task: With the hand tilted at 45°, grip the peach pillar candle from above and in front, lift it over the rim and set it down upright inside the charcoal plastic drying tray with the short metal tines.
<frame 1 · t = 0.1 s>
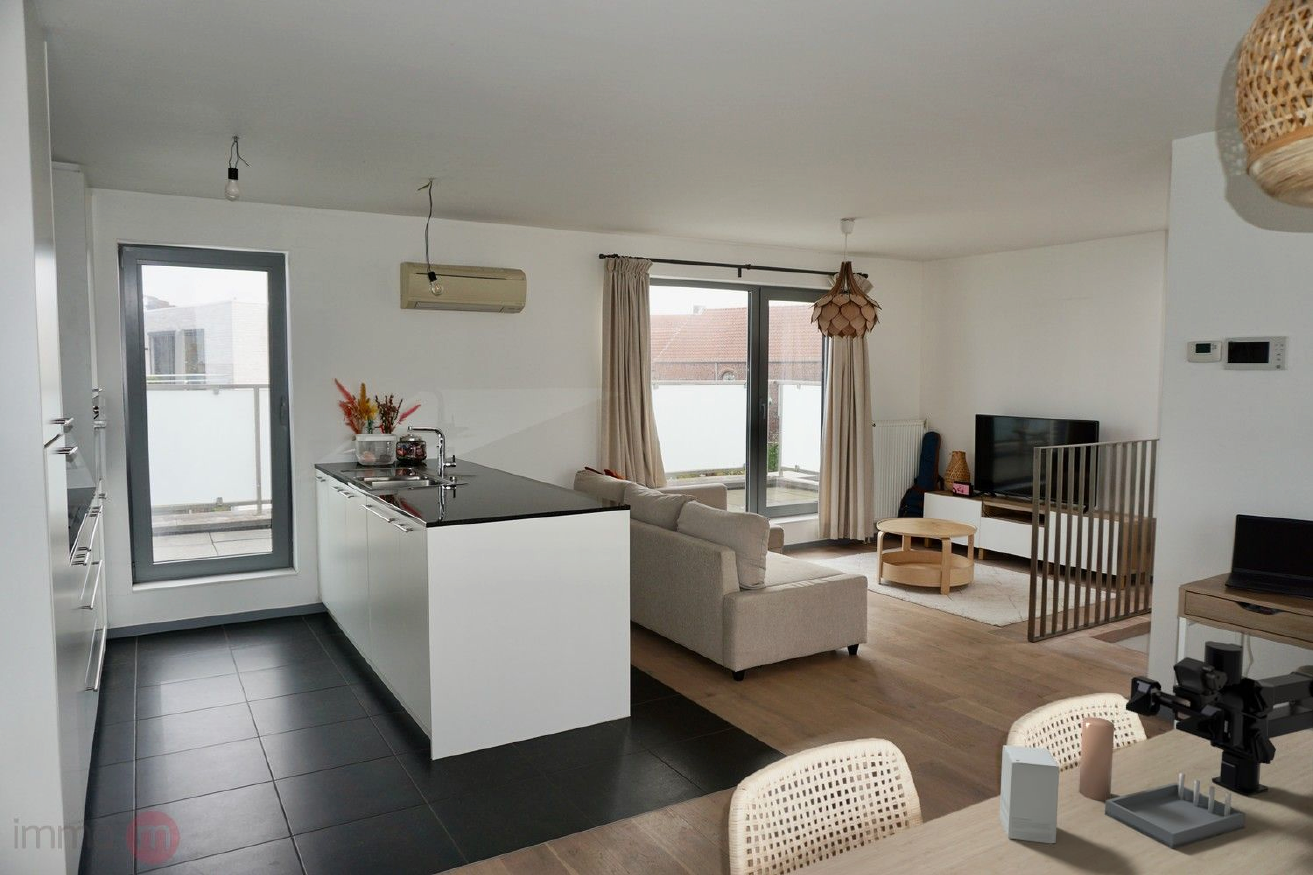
hand: (1150, 716, 148), 17 cm above the table, tool horizontal, fingers open, 9 cm apart
peach pillar candle: (1094, 793, 155), on the table
supplement box: (1026, 831, 141), on the table
drying tray: (1173, 820, 145), on the table
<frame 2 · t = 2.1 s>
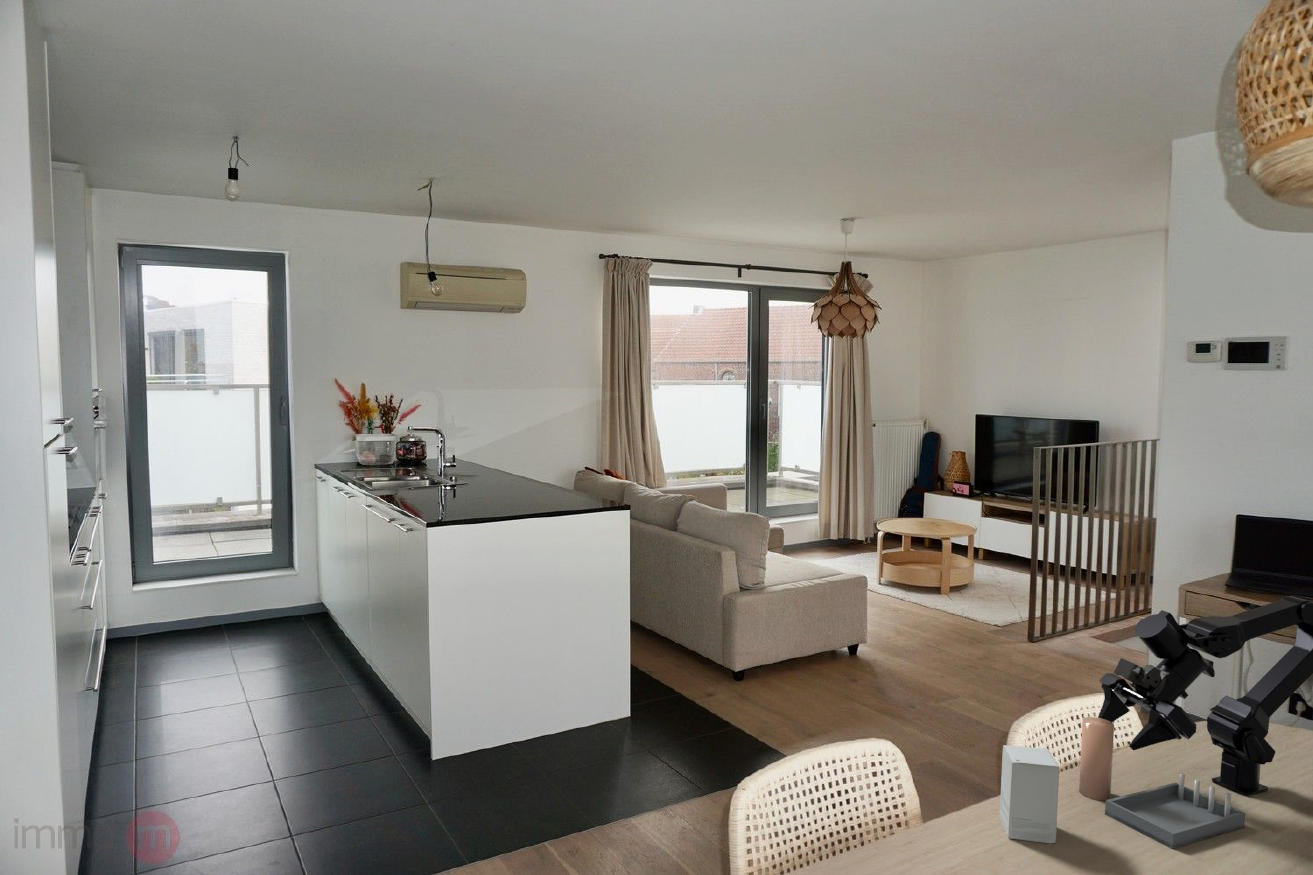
hand: (1113, 737, 154), 10 cm above the table, tool tilted 45°, fingers open, 9 cm apart
nothing on the table moved.
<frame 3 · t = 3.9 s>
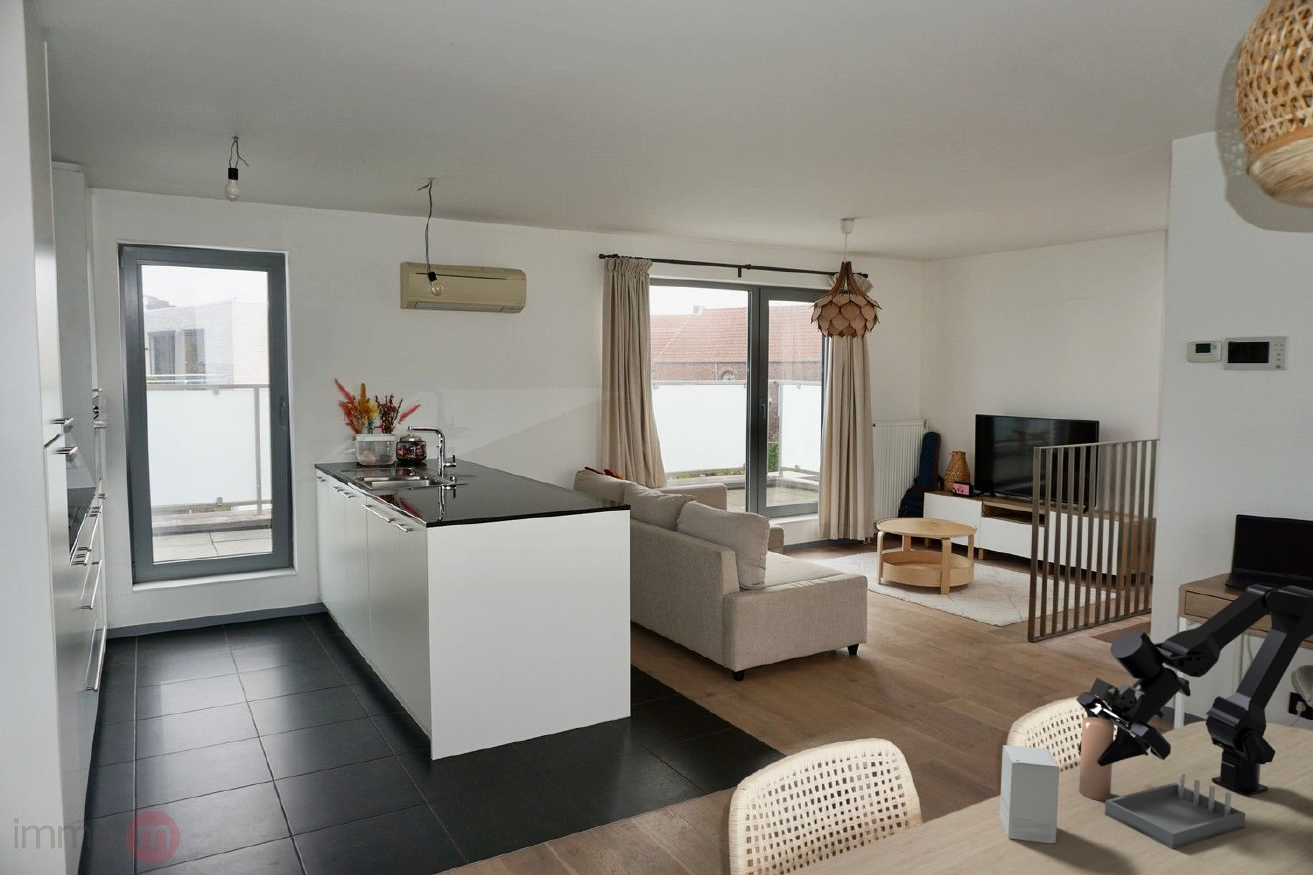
hand: (1089, 757, 154), 7 cm above the table, tool tilted 45°, fingers closed on peach pillar candle, 5 cm apart
peach pillar candle: (1094, 793, 155), on the table, touching gripper
everything else where it was.
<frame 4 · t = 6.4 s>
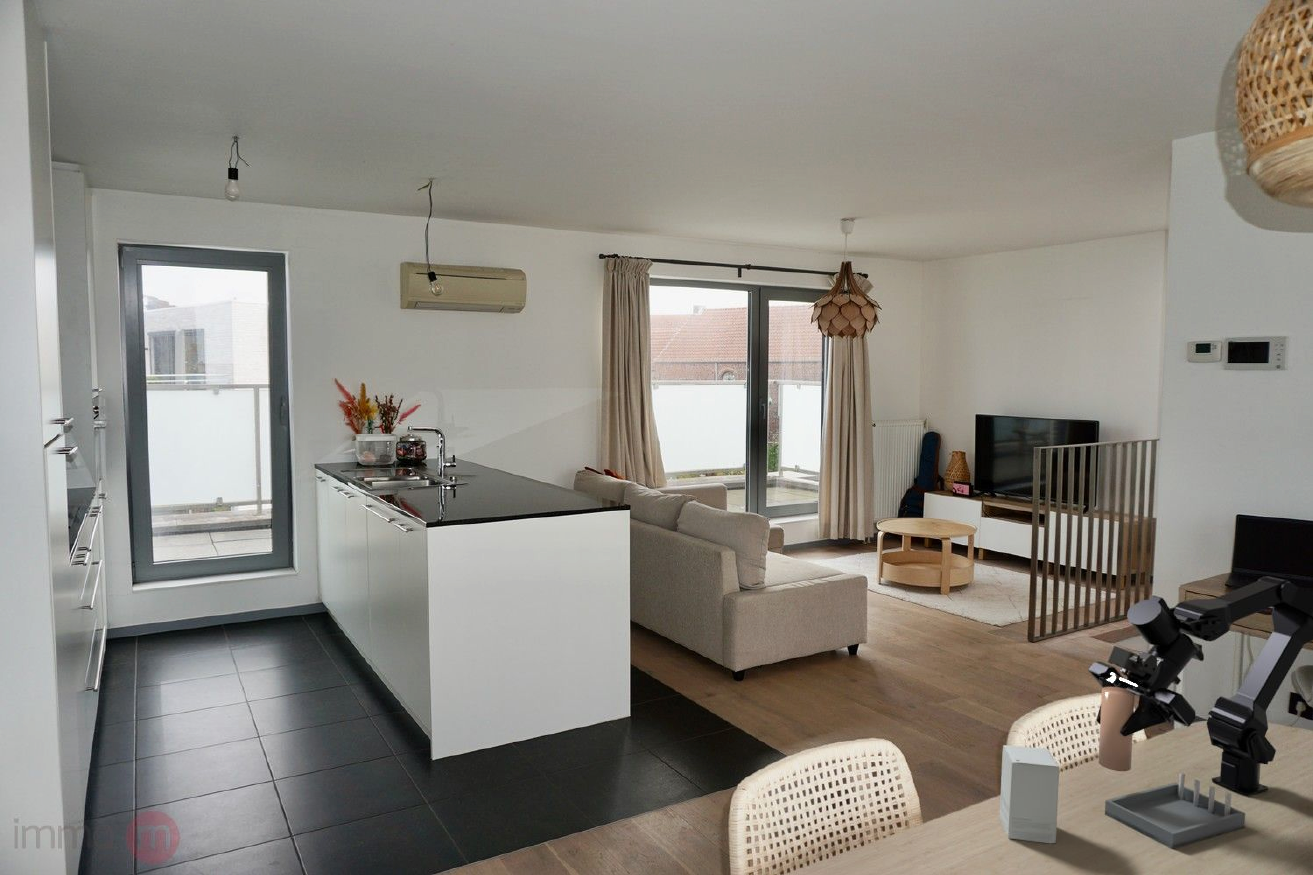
hand: (1110, 728, 150), 13 cm above the table, tool tilted 45°, fingers closed on peach pillar candle, 5 cm apart
peach pillar candle: (1114, 764, 151), point 7 cm above the table, touching gripper
everything else where it was.
when the fingers open (9 cm above the table, at t = 9.0 s): peach pillar candle drops 1 cm, resting on drying tray.
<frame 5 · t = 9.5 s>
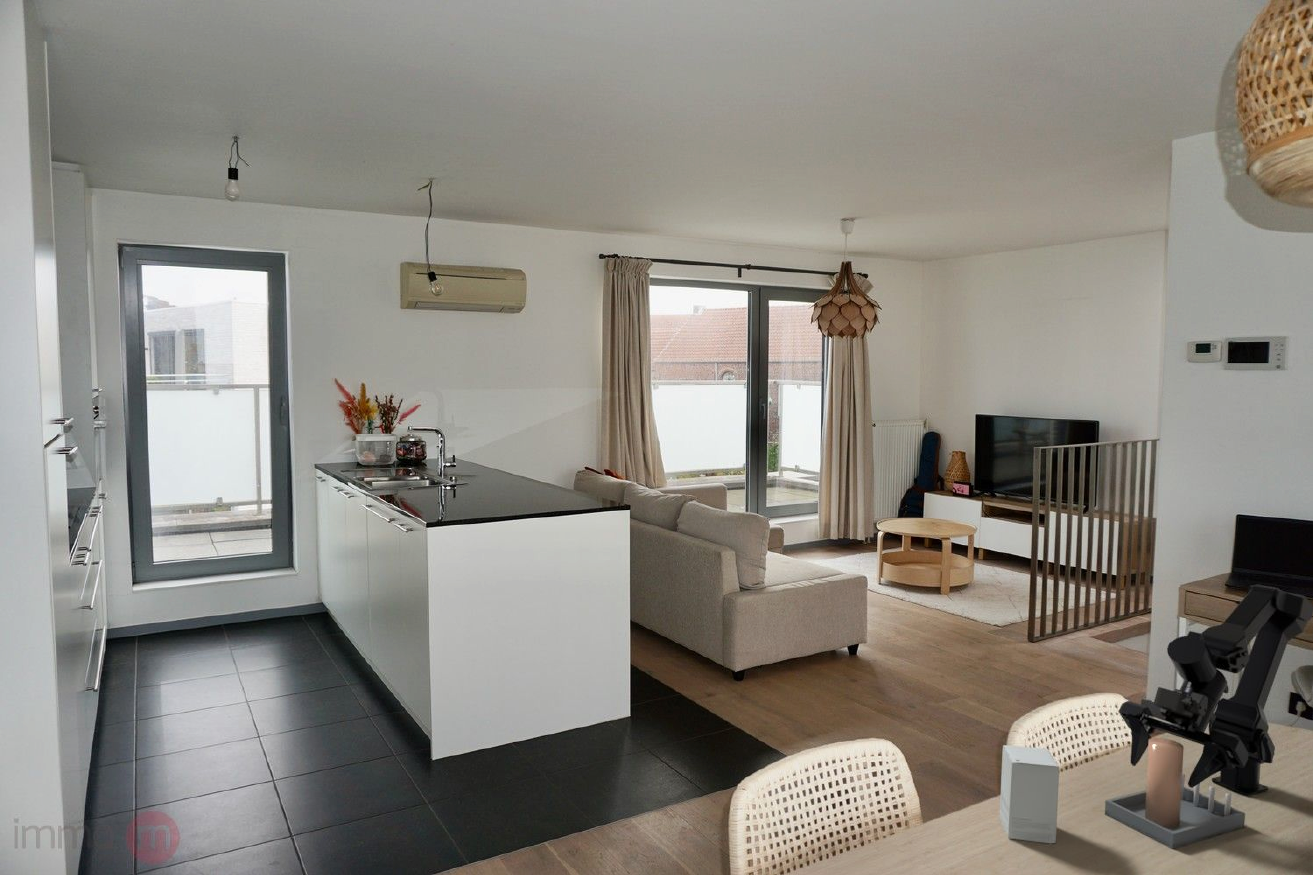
hand: (1160, 774, 143), 9 cm above the table, tool tilted 45°, fingers open, 9 cm apart
peach pillar candle: (1162, 820, 144), point 1 cm above the table, touching drying tray
everything else where it was.
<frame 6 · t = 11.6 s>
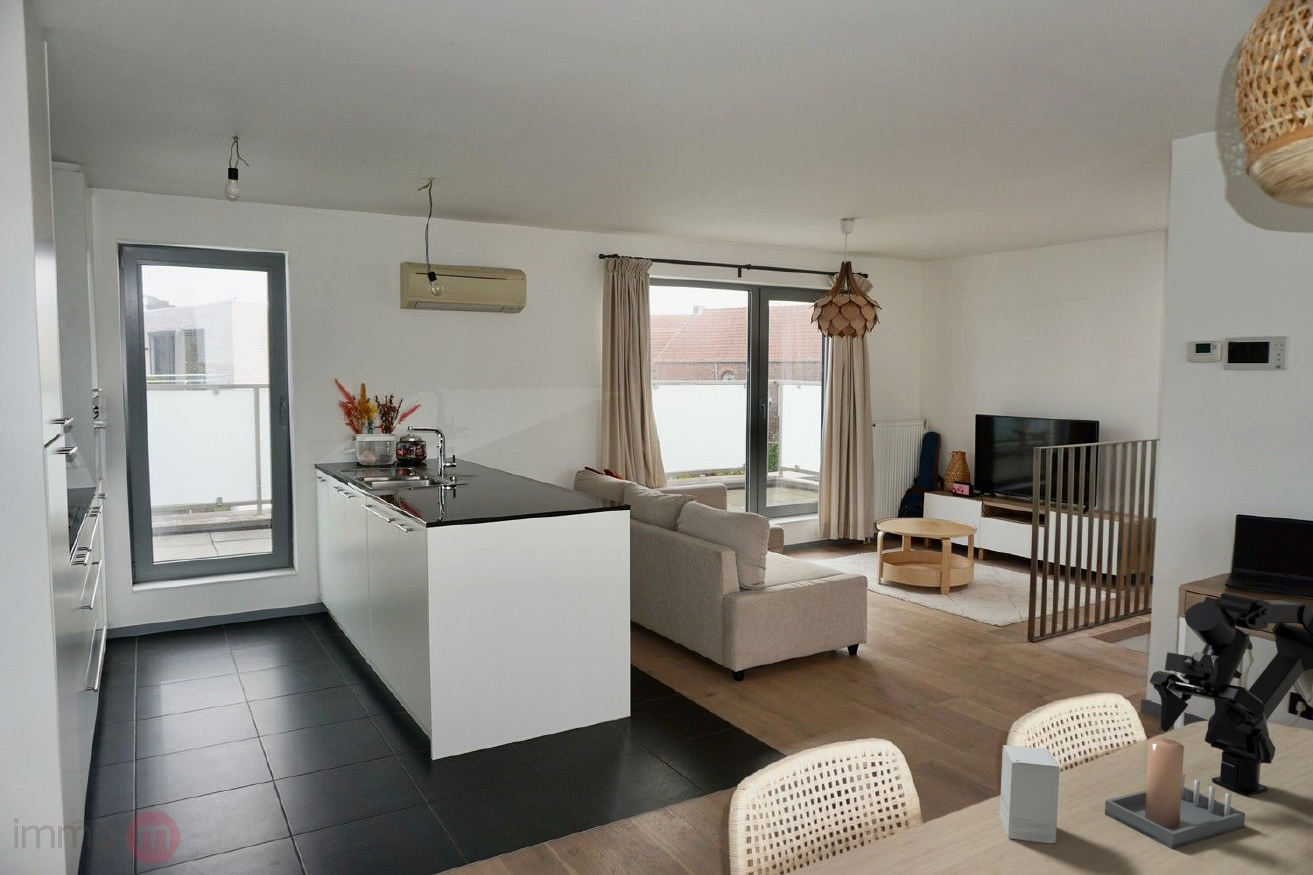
hand: (1184, 736, 150), 12 cm above the table, tool tilted 35°, fingers open, 9 cm apart
nothing on the table moved.
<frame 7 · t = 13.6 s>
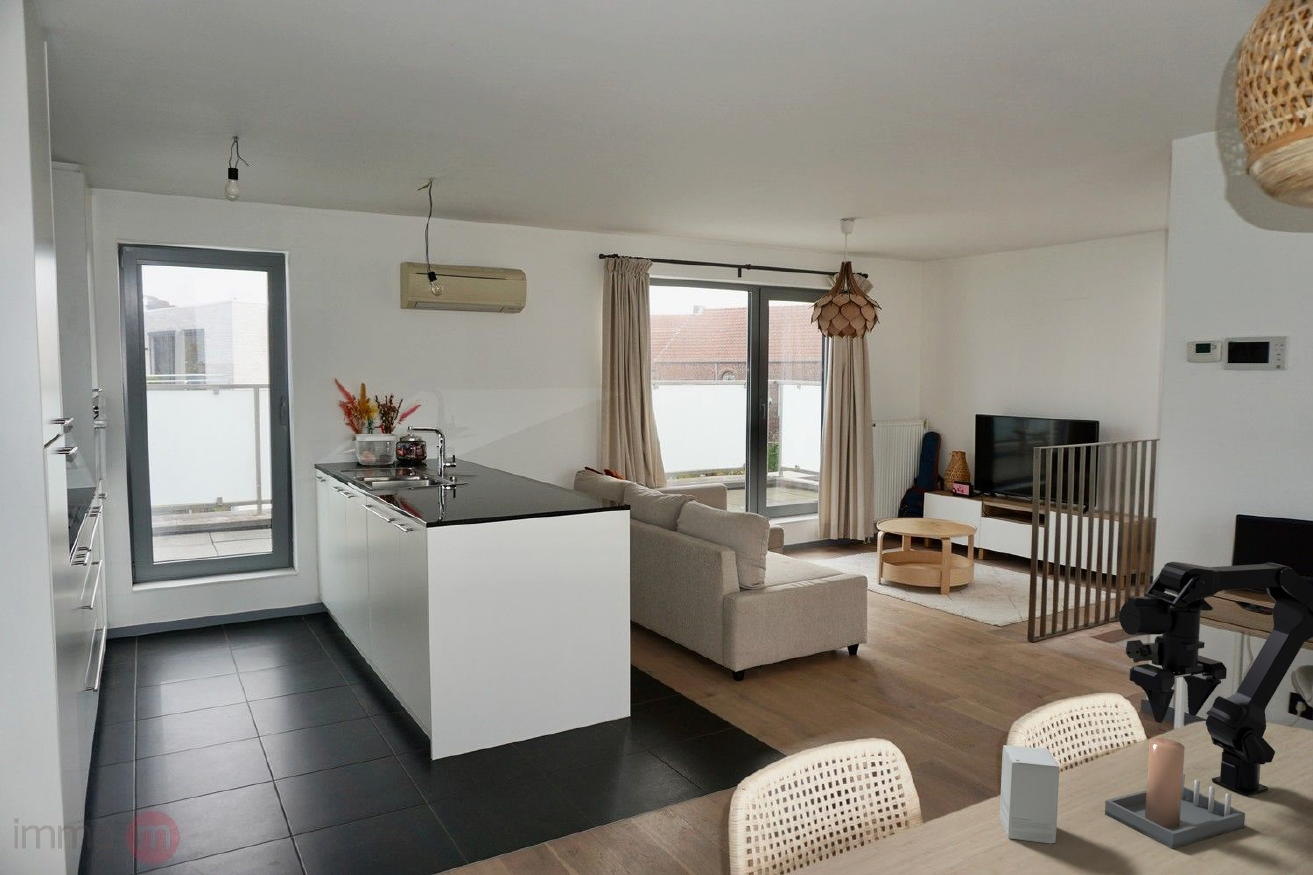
hand: (1175, 718, 156), 13 cm above the table, tool pointing down, fingers open, 9 cm apart
nothing on the table moved.
at the end: peach pillar candle inside the target area on the drying tray (2.9 cm from its centre), point 0.6 cm above the drying tray's base; peach pillar candle tilted 1°; the gripper is holding nothing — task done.
